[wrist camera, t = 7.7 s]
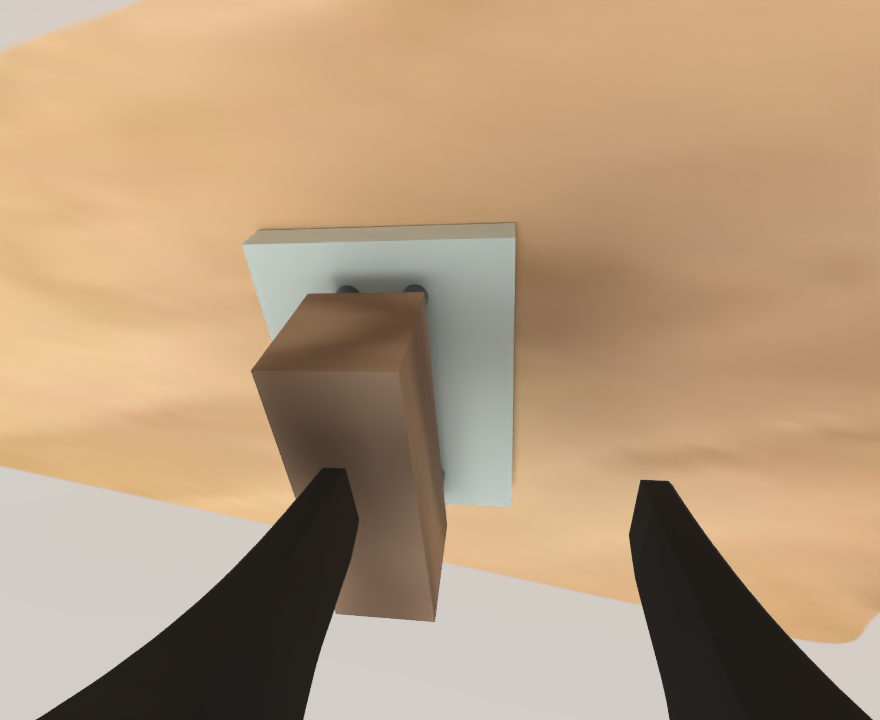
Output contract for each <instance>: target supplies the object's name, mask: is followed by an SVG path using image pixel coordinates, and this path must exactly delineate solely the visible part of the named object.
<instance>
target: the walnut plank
mask: <svg viewBox="0 0 880 720" xmlns="http://www.w3.org/2000/svg"><path fill="white" fill-rule="evenodd" d="M251 372H252V375H253V378H254V381H255V384H256V386H257V389H258V392H259V395H260V398H261V401H262V404H263V406H264V409H265V412H266V415H267V418H268V421H269V424H270V426H271V429H272V432H273V435H274V438H275V441H276V444H277V446H278V449H279V452H280V455H281V458H282V461H283V464H284V466H285V469H286V472H287V475H288V478H289V481H290V484H291V486H292V489H293V492H294V495H295V498H296V499H297V497H298V496H299V495H300V494H301V493H302V491H303V490H304V489H305V488H306V487H307V485H308V484H309V483H310V482H311V481H312V479H313V478H314V477H315V476H316V474H317V473H318V472H319V471H320V470H321V469H322V468H346V472H347V475H348V479H349V483H350V487H351V490H352V494H353V498H354V502H355V505H356V509H357V513H358V517H359V525H358V530H357V535H356V540H355V544H354V549H353V553H352V558H351V561H350V564H349V567H348V570H347V573H346V576H345V579H344V582H343V585H342V588H341V591H340V594H339V597H338V600H337V603H336V606H335V612H336V614H343V615H355V616H368V617H380V618H393V619H405V620H417V621H429V622H435V616H436V609H437V601H438V593H439V585H440V577H441V569H442V561H443V553H444V545H445V537H446V530H447V520H446V510H445V500H444V490H443V480H442V469H441V459H440V449H439V439H438V429H437V419H436V409H435V399H434V389H433V378H432V368H431V358H430V348H429V338H428V328H427V318H426V308H425V297H424V292H403V293H312V294H307V295H306V297H305V298H304V299H303V301H302V302H301V303H300V305H299V306H298V308H297V309H296V310H295V312H294V313H293V314H292V316H291V317H290V318H289V320H288V321H287V323H286V324H285V325H284V327H283V328H282V329H281V331H280V332H279V333H278V335H277V336H276V337H275V339H274V340H273V342H272V343H271V344H270V346H269V347H268V348H267V350H266V351H265V352H264V354H263V355H262V357H261V358H260V359H259V361H258V362H257V363H256V365H255V366H254V367H253V369H252V370H251Z"/></svg>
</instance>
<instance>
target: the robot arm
mask: <svg viewBox="0 0 880 720" xmlns="http://www.w3.org/2000/svg"><path fill="white" fill-rule="evenodd" d="M358 525H359V517H358V513H357V509H356V505H355V502H354V498H353V494H352V490H351V487H350V483H349V479H348V475H347V472H346V468H322V469H321V470H320V471H319V472H318V473H317V474H316V476H315V477H314V478H313V479H312V481H311V482H310V483H309V484H308V485H307V487H306V488H305V489H304V490H303V491H302V493H301V494H300V495H299V496H298V497H297V499H296V500H295V501H294V502H293V503H292V505H291V506H290V507H289V508H288V509H287V511H286V512H285V513H284V514H283V515H282V516H281V517H280V519H279V520H278V521H277V522H276V523H275V524H274V525H273V526H272V528H271V529H270V530H269V531H268V532H267V533H266V534H265V536H264V537H263V538H262V539H261V540H260V541H259V542H258V543H257V544H256V546H254V547H253V548H252V549H251V550H250V551H249V553H248V554H247V555H246V556H245V557H244V558H243V559H242V560H241V561H240V562H239V563H238V564H237V565H236V566H235V567H234V568H233V569H232V570H231V571H230V572H229V573H228V574H227V575H226V576H225V577H224V578H223V579H222V580H221V581H220V582H219V583H218V584H217V585H215V586H214V587H213V588H212V589H211V590H210V591H209V592H208V593H207V594H206V595H205V596H203V597H202V598H201V599H200V600H199V601H198V602H197V603H196V604H194V605H193V606H192V607H191V608H190V609H189V610H187V611H186V612H185V613H184V614H183V615H181V616H180V617H179V618H178V619H177V620H176V621H174V622H173V623H172V624H171V625H170V626H168V627H167V628H166V629H165V630H164V631H162V632H161V633H160V634H159V635H157V636H156V637H155V638H153V639H152V640H151V641H150V642H148V643H147V644H146V645H144V646H143V647H142V648H140V649H139V650H138V651H136V652H135V653H134V654H132V655H131V656H130V657H128V658H127V659H125V660H124V661H123V662H121V663H120V664H119V665H117V666H116V667H115V668H113V669H112V670H111V671H109V672H108V673H107V674H105V675H104V676H102V677H101V678H99V679H98V680H96V681H95V682H93V683H92V684H90V685H89V686H87V687H86V688H84V689H83V690H81V691H80V692H78V693H77V694H75V695H74V696H72V697H71V698H69V699H67V700H66V701H64V702H63V703H61V704H60V705H58V706H57V707H55V708H54V709H52V710H51V711H49V712H48V713H46V714H45V715H43V716H41V717H40V718H38V719H36V720H303V718H304V714H305V709H306V705H307V701H308V696H309V693H310V688H311V684H312V680H313V676H314V672H315V668H316V664H317V661H318V657H319V654H320V651H321V647H322V644H323V641H324V638H325V635H326V632H327V630H328V626H329V623H330V621H331V618H332V614H333V612H334V609H335V606H336V603H337V600H338V597H339V594H340V591H341V588H342V585H343V582H344V579H345V576H346V573H347V570H348V567H349V564H350V561H351V558H352V553H353V549H354V544H355V540H356V535H357V530H358ZM629 539H630V546H631V554H632V561H633V567H634V574H635V579H636V583H637V587H638V591H639V595H640V599H641V603H642V607H643V610H644V614H645V618H646V622H647V625H648V630H649V633H650V637H651V641H652V645H653V648H654V652H655V656H656V660H657V664H658V667H659V671H660V674H661V679H662V683H663V688H664V692H665V697H666V701H667V706H668V713H669V719H670V720H872V719H871V718H870V717H869V716H868V715H867V714H866V713H865V712H864V711H863V710H862V709H861V708H860V707H858V706H857V705H856V704H855V703H854V702H853V701H852V700H851V699H850V698H849V697H848V696H847V695H846V694H845V693H844V692H842V691H841V690H840V689H839V688H838V687H837V686H836V685H835V684H834V683H833V682H832V681H831V680H830V679H829V678H828V677H827V676H826V675H825V674H824V673H823V672H822V671H821V669H819V667H817V666H816V664H815V663H814V662H813V661H812V660H811V659H810V658H809V657H808V656H807V655H806V654H805V653H804V652H803V651H802V650H801V649H800V648H799V647H798V646H797V645H796V643H795V642H794V641H793V640H792V639H791V638H790V637H789V636H788V635H787V634H786V633H785V632H784V630H783V629H782V628H781V627H780V626H779V625H778V624H777V623H776V622H775V620H774V619H773V618H772V617H771V616H770V615H769V614H768V612H767V611H766V610H765V609H764V608H763V607H762V605H761V604H760V603H759V602H758V601H757V599H756V598H755V597H754V596H753V595H752V593H751V592H750V591H749V590H748V589H747V587H746V586H745V585H744V584H743V583H742V581H741V580H740V579H739V578H738V576H737V575H736V574H735V573H734V571H733V570H732V569H731V567H730V566H729V565H728V563H727V562H726V561H725V559H724V558H723V557H722V556H721V554H720V553H719V552H718V550H717V549H716V548H715V546H714V545H713V544H712V542H711V541H710V540H709V538H708V537H707V535H706V534H705V533H704V531H703V530H702V528H701V527H700V526H699V524H698V523H697V521H696V520H695V518H694V517H693V516H692V514H691V513H690V511H689V510H688V508H687V507H686V505H685V504H684V502H683V501H682V499H681V498H680V496H679V495H678V493H677V492H676V490H675V488H674V487H673V485H672V484H671V483H670V482H669V481H655V480H640V485H639V490H638V495H637V499H636V504H635V509H634V513H633V518H632V523H631V528H630V532H629Z"/></svg>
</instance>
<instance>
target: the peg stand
mask: <svg viewBox="0 0 880 720" xmlns="http://www.w3.org/2000/svg"><path fill="white" fill-rule="evenodd" d="M515 240H516V236H515V223H490V224H457V225H423V226H390V227H356V228H323V229H289V230H258V231H257V232H256V233H255V234H254V235H253V236H251V237H250V238H249V239H248V240H247V241H245V242H244V243H243V244H242V248H243V251H244V254H245V257H246V261H247V264H248V267H249V270H250V273H251V277H252V280H253V283H254V286H255V290H256V293H257V296H258V299H259V303H260V306H261V309H262V312H263V316H264V319H265V322H266V325H267V328H268V332H269V335H270V338H271V341H272V342H273V340H274V339H275V337H276V336H277V335H278V333H279V332H280V331H281V329H282V328H283V327H284V325H285V324H286V323H287V321H288V320H289V318H290V317H291V316H292V314H293V313H294V312H295V310H296V309H297V308H298V306H299V305H300V303H301V302H302V301H303V299H304V298H305V297H306V295H307V294H312V293H403V292H424V297H425V308H426V318H427V328H428V338H429V348H430V358H431V368H432V378H433V389H434V399H435V409H436V419H437V429H438V439H439V449H440V459H441V469H442V480H443V490H444V500H445V504H450V505H471V506H492V507H512V443H513V376H514V308H515Z"/></svg>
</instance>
